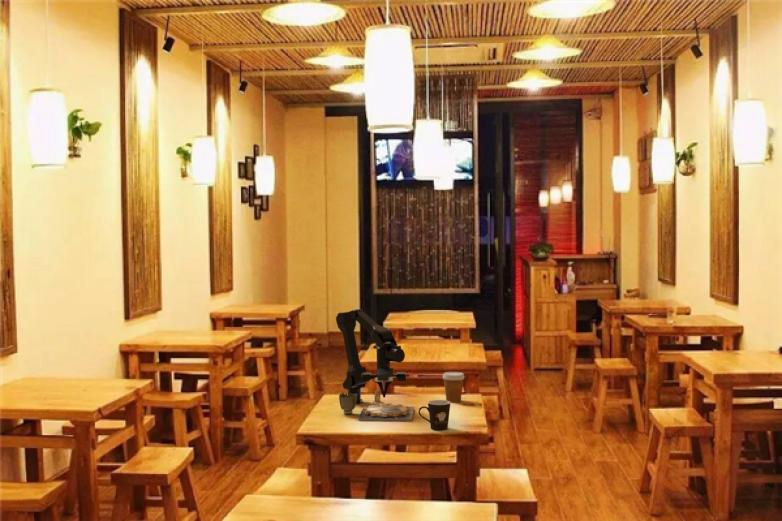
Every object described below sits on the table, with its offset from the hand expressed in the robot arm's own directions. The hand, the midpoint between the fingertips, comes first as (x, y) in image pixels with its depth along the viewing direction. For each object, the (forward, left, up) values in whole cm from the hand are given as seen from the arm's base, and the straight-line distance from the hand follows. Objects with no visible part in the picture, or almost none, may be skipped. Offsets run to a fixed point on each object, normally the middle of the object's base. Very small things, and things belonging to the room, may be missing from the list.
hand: (384, 397), depth 354 cm
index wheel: (+9, +2, -4) cm, 10 cm away
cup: (+8, -14, -5) cm, 17 cm away
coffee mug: (+30, +22, -5) cm, 38 cm away
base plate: (+9, +2, -5) cm, 11 cm away
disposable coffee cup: (-18, +29, -5) cm, 34 cm away
